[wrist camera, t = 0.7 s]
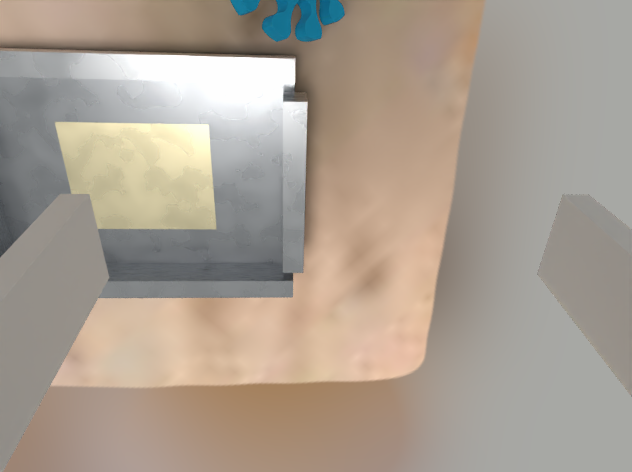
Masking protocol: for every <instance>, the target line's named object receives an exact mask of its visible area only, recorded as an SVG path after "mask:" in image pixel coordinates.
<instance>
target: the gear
mask: <svg viewBox="0 0 632 472" xmlns="http://www.w3.org/2000/svg"><path fill="white" fill-rule="evenodd" d="M259 2H260V0H231V3H232V5H233V7H234V8H235V10H236V12H237V13H238V15H245V14H247V13H249V12H252V11H254V10H255V9H256V8H257V6H258V4H259ZM276 2H277V5H278V11H277V13H276V14H274V15H272V16H269V17H266V18H265V19H264V21H263V24H262V29H263V30H264V32H265V33H266V34H267V35H268V36H269V37H270V38H272V39H273V40H275V41H276V42H278V41H281V40H284V39H287V38H288V37H289V35H290V33H291V16H292V12H293V9H294V7H295V5H296V4H298V5H299V7H300V9H301V19H300V20H299V22H298V23H297V25H296V28H295V34H296V38H297V39H298V40H300V41H305V42H309V41H314V40H317V39H321V36H322V29H321V25H320V23H319V20H318V17H317V11H316V0H276ZM344 15H345V12H344V8H343V6H342V4H341V3H340V2H339V1H338V0H320V9H319V16H320V20H321V22H322V24H323V25H328V24H331V23H334V22H337V21H339V20H340V19H341V18H342V17H343V16H344Z"/></svg>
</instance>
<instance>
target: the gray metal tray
mask: <svg viewBox="0 0 632 472" xmlns="http://www.w3.org/2000/svg"><path fill="white" fill-rule="evenodd" d="M306 142H307V95H306V93H300V92H295V56H272V55H236V54H199V53H162V52H126V51H89V50H53V49H16V48H0V257H1V256H2V255H3V254H4V253H5V252H6V251H7V250H8V249H9V248H10V247H11V246H12V245H13V243H14V242H15V241H16V240H17V239H18V238H19V237H20V236H21V235H22V234H23V233H24V232H25V231H26V230H27V229H28V227H29V226H30V225H31V224H32V223H33V222H34V221H35V220H36V219H37V218H38V217H39V216H40V215H41V214H42V213H43V212H44V210H45V209H46V208H47V207H48V206H49V205H50V204H51V203H52V202H53V201H54V200H55V199H56V198H57V197H58V196H59V195H60V194H89V195H90V199H91V203H92V207H93V211H94V216H95V220H96V224H97V228H98V232H99V236H100V241H101V245H102V249H103V253H104V257H105V262H106V266H107V270H108V274H109V279H108V281H107V283H106V285H105V286H104V288H103V290H102V292H101V294H100V296H99V297H98V298H250V297H293V273H303V262H304V222H305V182H306Z"/></svg>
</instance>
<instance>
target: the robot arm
mask: <svg viewBox="0 0 632 472" xmlns="http://www.w3.org/2000/svg"><path fill="white" fill-rule="evenodd" d="M538 276H539V277H540V278H541V280H542V281H543V282H544V283H545V285H546V286H547V287H548V289H549V290H550V291H551V293H552V294H553V295H554V296H555V298H556V299H557V300H558V302H559V303H560V304H561V306H562V307H563V308H564V309H565V311H566V312H567V313H568V315H569V316H570V317H571V318H572V320H573V321H574V322H575V324H576V325H577V326H578V328H579V329H580V330H581V331H582V333H583V334H584V335H585V337H586V338H587V339H588V341H589V342H590V343H591V344H592V346H593V347H594V348H595V350H596V351H597V352H598V353H599V355H600V356H601V357H602V359H603V360H604V361H605V363H606V364H607V365H608V367H609V368H610V369H611V370H612V372H613V373H614V374H615V375H616V377H617V378H618V379H619V381H620V382H621V383H622V385H623V386H624V387H625V389H626V390H627V391H628V392H629V394H630V395H631V396H632V229H630V228H629V227H628V226H627V225H626V224H624V223H623V222H622V221H621V220H619V219H618V218H617V217H616V216H614V215H613V214H612V213H610V212H609V211H608V210H607V209H606V208H605V207H603V206H602V205H601V204H600V203H598V202H597V201H596V200H595V199H593V198H592V197H591V196H590V195H562V198H561V201H560V204H559V207H558V211H557V214H556V217H555V220H554V223H553V226H552V230H551V233H550V236H549V239H548V242H547V245H546V248H545V251H544V255H543V258H542V261H541V264H540V267H539V270H538ZM108 279H109V274H108V270H107V266H106V262H105V257H104V253H103V249H102V245H101V241H100V236H99V232H98V228H97V224H96V220H95V216H94V211H93V207H92V203H91V199H90V195H89V194H60V195H59V196H58V197H57V198H56V199H55V200H54V201H53V202H52V203H51V204H50V205H49V206H48V207H47V208H46V209H45V210H44V212H43V213H42V214H41V215H40V216H39V217H38V218H37V219H36V220H35V221H34V222H33V223H32V224H31V225H30V226H29V227H28V229H27V230H26V231H25V232H24V233H23V234H22V235H21V236H20V237H19V238H18V239H17V240H16V241H15V242H14V243H13V245H12V246H11V247H10V248H9V249H8V250H7V251H6V252H5V253H4V254H3V255H2V256H1V257H0V472H3V471H4V469H5V467H6V465H7V463H8V461H9V459H10V458H11V456H12V454H13V452H14V450H15V449H16V447H17V445H18V443H19V441H20V439H21V438H22V436H23V434H24V432H25V430H26V429H27V427H28V425H29V423H30V421H31V419H32V418H33V415H34V414H35V412H36V410H37V409H38V407H39V405H40V403H41V401H42V399H43V397H44V395H45V394H46V392H47V390H48V388H49V387H50V385H51V383H52V381H53V379H54V378H55V376H56V374H57V372H58V370H59V368H60V367H61V365H62V363H63V361H64V359H65V357H66V356H67V354H68V352H69V350H70V348H71V347H72V345H73V343H74V341H75V339H76V337H77V336H78V334H79V332H80V330H81V328H82V326H83V325H84V323H85V321H86V319H87V317H88V316H89V314H90V312H91V310H92V308H93V306H94V305H95V303H96V301H97V299H98V297H99V296H100V294H101V292H102V290H103V288H104V286H105V285H106V283H107V281H108Z"/></svg>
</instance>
